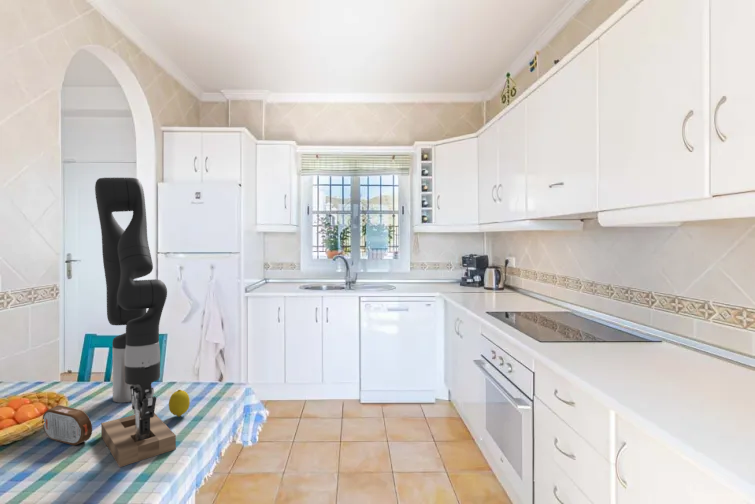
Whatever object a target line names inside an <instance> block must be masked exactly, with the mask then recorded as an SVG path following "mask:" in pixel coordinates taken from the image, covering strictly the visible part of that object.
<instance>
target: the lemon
mask: <svg viewBox="0 0 755 504" xmlns="http://www.w3.org/2000/svg"><path fill="white" fill-rule="evenodd" d="M190 403H191V401H190V397H189V394H188V392H187V391H185V390H182V389H177V391H174V392H173V393H172V394H171V395H170V397H169V401H168V410H169V411H170V413H171V414H172V415H174V416H177V417H178V418H180V417H181V416H183V415H184V414H185V413H187V411H188V410H189V408H190Z"/></svg>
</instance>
